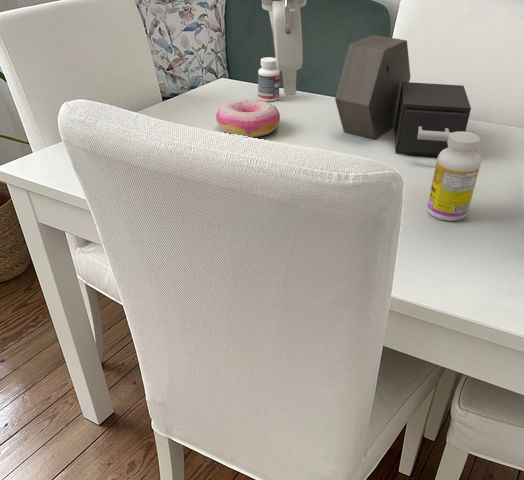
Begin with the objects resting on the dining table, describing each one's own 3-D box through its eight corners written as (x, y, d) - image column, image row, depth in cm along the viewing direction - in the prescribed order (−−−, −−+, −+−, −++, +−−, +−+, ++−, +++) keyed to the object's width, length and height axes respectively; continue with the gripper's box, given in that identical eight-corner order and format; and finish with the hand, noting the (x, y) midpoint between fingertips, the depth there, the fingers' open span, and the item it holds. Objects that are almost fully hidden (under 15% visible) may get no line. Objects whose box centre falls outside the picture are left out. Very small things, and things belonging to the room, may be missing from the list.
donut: (205, 133, 122) (203, 109, 119) (236, 115, 131) (236, 92, 128) (260, 145, 117) (260, 120, 114) (289, 125, 126) (290, 102, 123)
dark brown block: (381, 89, 131) (368, 11, 113) (412, 95, 128) (404, 16, 110) (347, 148, 129) (329, 78, 110) (378, 156, 125) (364, 85, 107)
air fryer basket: (459, 164, 109) (470, 123, 103) (399, 160, 110) (406, 119, 105) (452, 131, 122) (460, 93, 117) (398, 127, 123) (404, 89, 118)
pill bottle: (277, 102, 138) (278, 62, 132) (256, 101, 139) (256, 61, 133) (280, 95, 142) (281, 57, 136) (259, 94, 143) (260, 55, 137)
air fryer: (459, 157, 113) (471, 108, 107) (395, 153, 115) (403, 103, 109) (453, 132, 124) (463, 85, 118) (394, 128, 126) (402, 81, 120)
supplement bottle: (431, 200, 99) (447, 125, 90) (470, 209, 97) (490, 132, 88) (421, 217, 94) (438, 139, 86) (462, 226, 92) (483, 147, 84)
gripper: (311, -8, 71) (314, 105, 80) (300, -38, 86) (304, 60, 95) (261, -3, 71) (269, 110, 80) (259, -34, 86) (266, 64, 95)
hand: (288, 83), depth 88 cm, fingers open, 8 cm apart
